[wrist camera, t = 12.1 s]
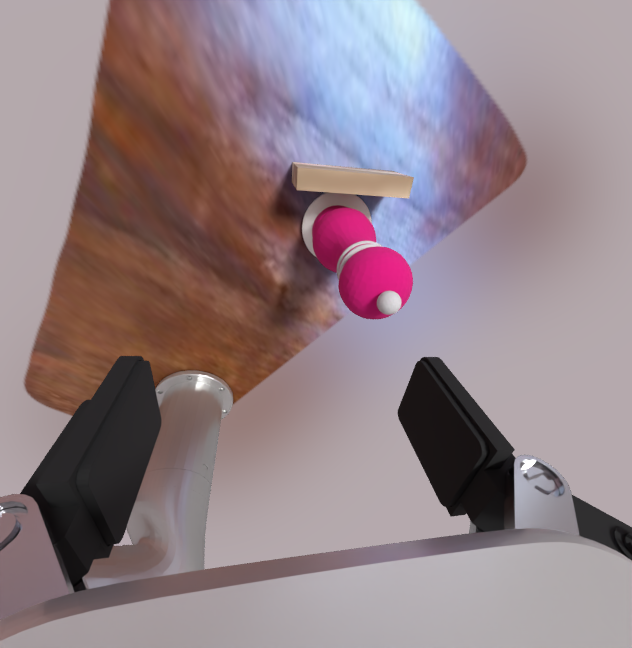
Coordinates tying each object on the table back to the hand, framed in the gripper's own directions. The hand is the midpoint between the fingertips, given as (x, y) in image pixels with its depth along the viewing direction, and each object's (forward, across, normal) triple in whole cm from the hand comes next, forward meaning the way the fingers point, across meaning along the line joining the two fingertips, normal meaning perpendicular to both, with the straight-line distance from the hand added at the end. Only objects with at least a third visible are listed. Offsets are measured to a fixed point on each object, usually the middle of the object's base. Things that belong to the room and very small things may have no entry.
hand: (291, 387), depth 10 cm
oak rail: (+30, -8, -5) cm, 31 cm away
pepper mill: (+30, -8, +1) cm, 31 cm away
